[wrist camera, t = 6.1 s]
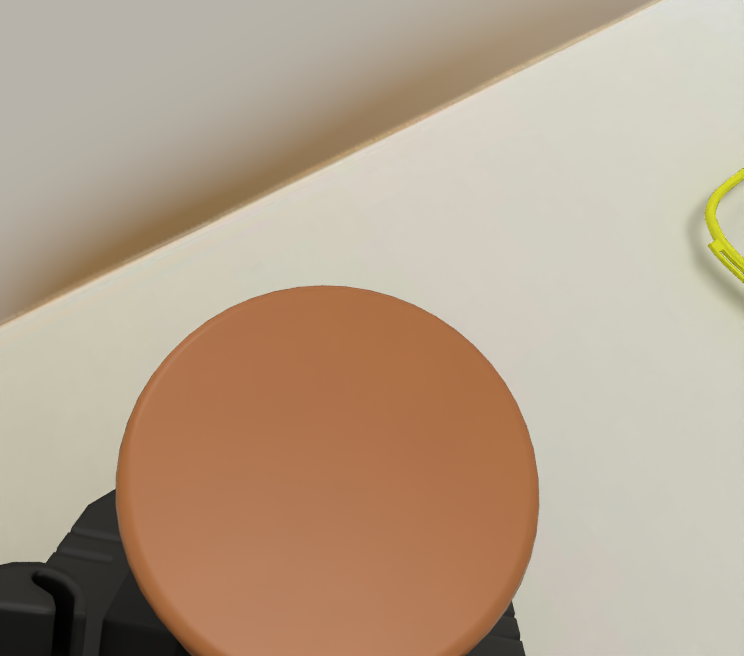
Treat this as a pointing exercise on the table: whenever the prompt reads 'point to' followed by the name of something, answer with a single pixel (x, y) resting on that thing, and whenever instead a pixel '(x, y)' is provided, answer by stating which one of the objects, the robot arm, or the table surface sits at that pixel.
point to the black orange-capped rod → (327, 482)
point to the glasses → (719, 239)
